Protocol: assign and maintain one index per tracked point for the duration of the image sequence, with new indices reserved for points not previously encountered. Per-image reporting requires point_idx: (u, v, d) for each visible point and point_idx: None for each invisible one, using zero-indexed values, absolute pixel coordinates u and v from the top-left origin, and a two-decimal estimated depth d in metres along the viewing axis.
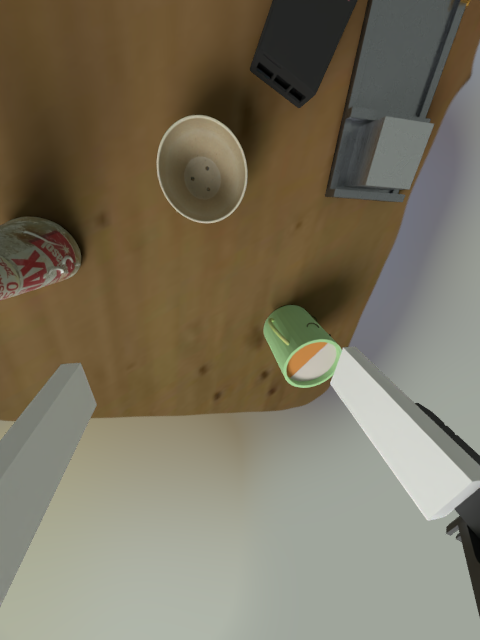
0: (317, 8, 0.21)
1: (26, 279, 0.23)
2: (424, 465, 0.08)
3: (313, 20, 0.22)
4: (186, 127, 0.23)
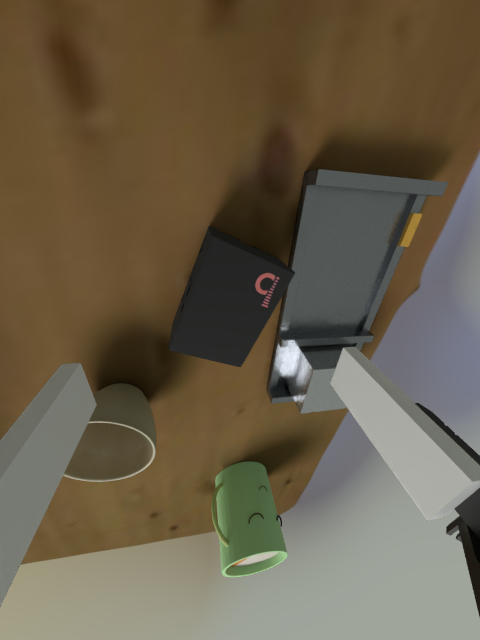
0: (231, 317, 0.19)
1: None
2: (424, 465, 0.08)
3: (228, 324, 0.19)
4: None
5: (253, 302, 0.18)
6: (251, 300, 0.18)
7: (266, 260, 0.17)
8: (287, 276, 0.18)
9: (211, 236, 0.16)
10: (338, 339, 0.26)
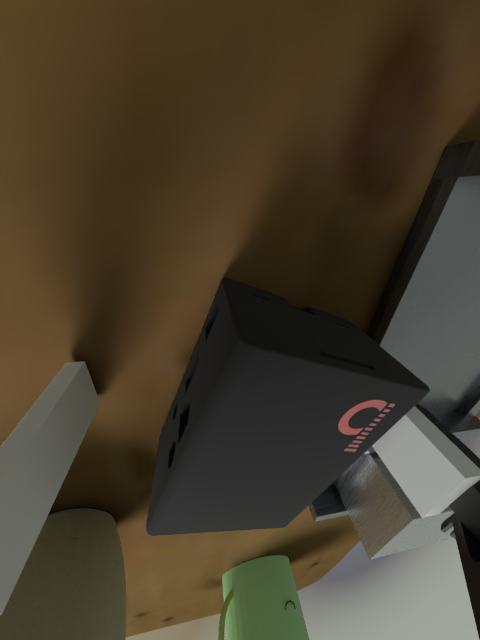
0: (278, 476, 0.09)
1: None
2: (419, 462, 0.08)
3: (270, 486, 0.09)
4: None
5: (328, 449, 0.08)
6: (324, 447, 0.08)
7: (375, 377, 0.07)
8: (414, 399, 0.08)
9: (238, 339, 0.05)
10: None
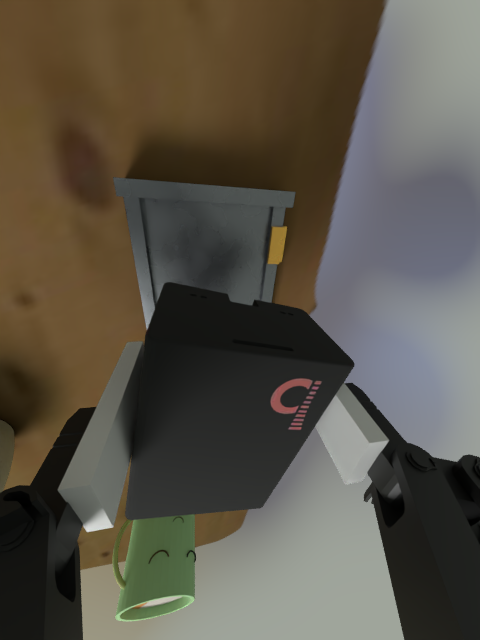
0: (231, 457, 0.09)
1: None
2: (342, 434, 0.08)
3: (228, 468, 0.10)
4: None
5: (271, 428, 0.09)
6: (266, 427, 0.09)
7: (289, 357, 0.07)
8: (339, 376, 0.08)
9: (146, 336, 0.06)
10: None
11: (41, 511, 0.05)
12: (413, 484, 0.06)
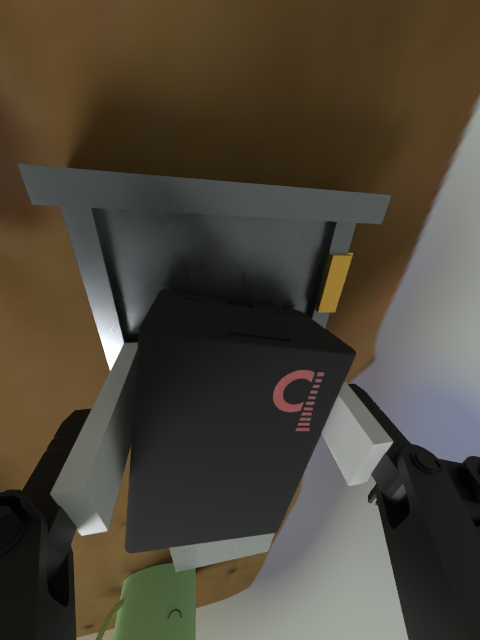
0: (237, 468, 0.09)
1: None
2: (346, 435, 0.08)
3: (235, 481, 0.09)
4: None
5: (277, 430, 0.08)
6: (271, 429, 0.08)
7: (287, 347, 0.07)
8: (342, 365, 0.08)
9: (140, 330, 0.06)
10: None
11: (33, 515, 0.05)
12: (418, 485, 0.06)
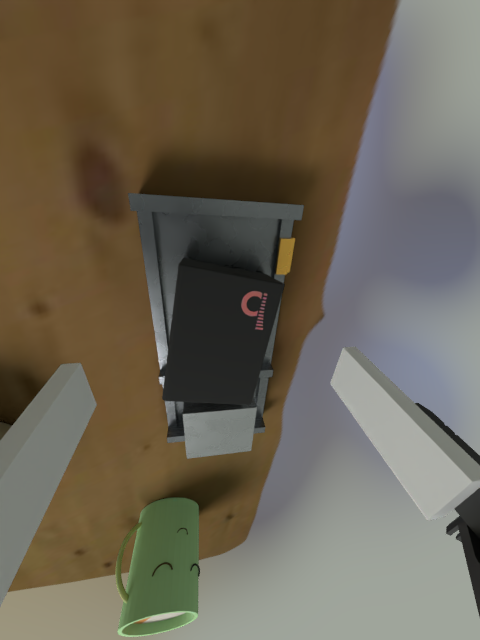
0: (224, 349, 0.16)
1: None
2: (424, 465, 0.08)
3: (223, 358, 0.17)
4: None
5: (245, 327, 0.16)
6: (242, 325, 0.16)
7: (246, 277, 0.15)
8: (276, 290, 0.15)
9: (178, 265, 0.14)
10: None
11: None
12: None
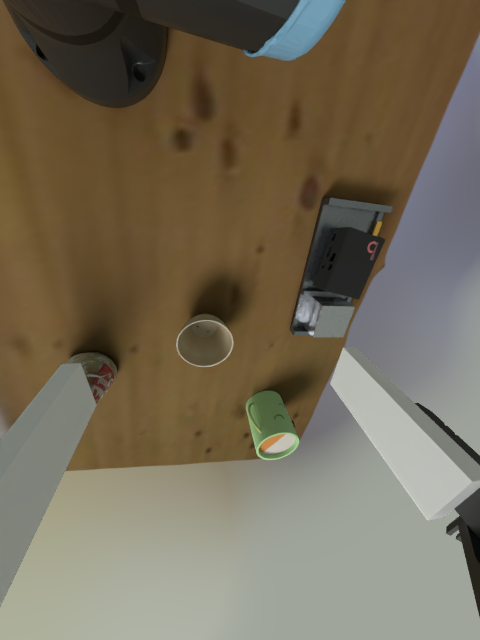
0: (356, 267, 0.37)
1: None
2: (424, 465, 0.08)
3: (354, 272, 0.38)
4: None
5: (366, 257, 0.37)
6: (365, 257, 0.37)
7: (372, 235, 0.36)
8: (382, 241, 0.36)
9: (348, 228, 0.35)
10: None
11: None
12: None
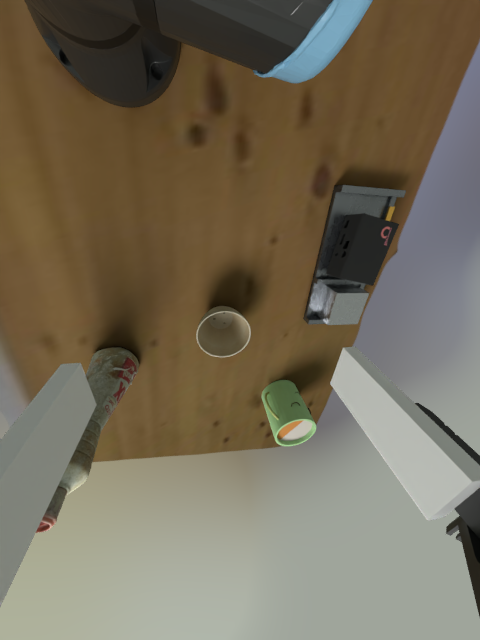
0: (369, 253, 0.38)
1: (118, 402, 0.39)
2: (424, 465, 0.08)
3: (368, 258, 0.38)
4: None
5: (380, 243, 0.37)
6: (379, 242, 0.37)
7: (385, 220, 0.36)
8: (395, 226, 0.37)
9: (362, 214, 0.35)
10: (349, 281, 0.45)
11: None
12: None
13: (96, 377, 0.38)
